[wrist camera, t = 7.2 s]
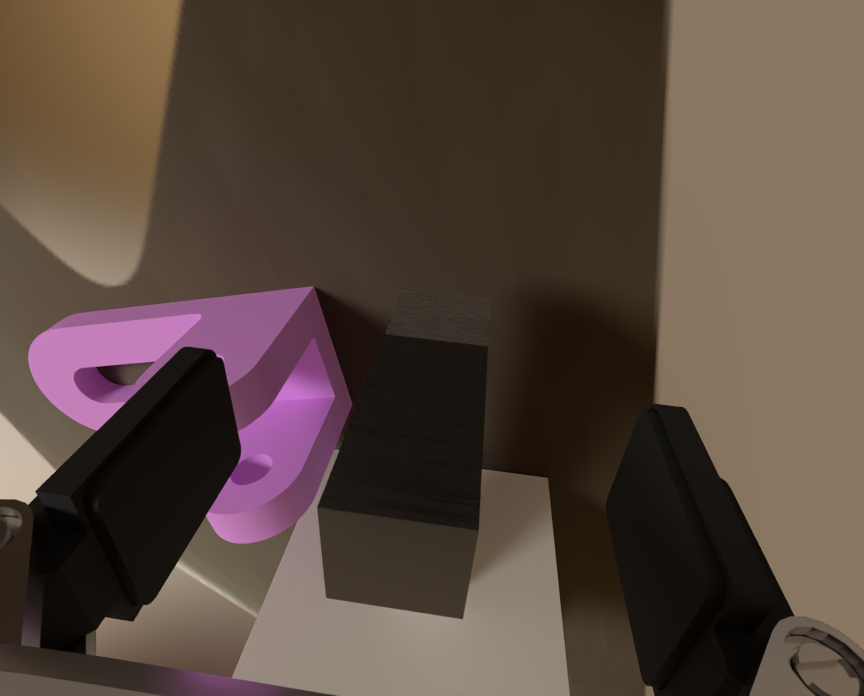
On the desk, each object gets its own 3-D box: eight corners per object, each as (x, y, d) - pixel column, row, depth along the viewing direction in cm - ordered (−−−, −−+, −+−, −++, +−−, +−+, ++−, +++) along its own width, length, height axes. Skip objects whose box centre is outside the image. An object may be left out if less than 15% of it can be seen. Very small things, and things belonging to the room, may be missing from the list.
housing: (328, 448, 23) (225, 693, 14) (547, 477, 22) (575, 753, 14) (333, 518, 25) (249, 758, 17) (528, 547, 25) (541, 811, 16)
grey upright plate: (402, 289, 13) (317, 507, 7) (490, 298, 13) (479, 529, 7) (393, 566, 20) (346, 798, 14) (450, 575, 20) (428, 813, 14)
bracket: (314, 284, 18) (226, 403, 12) (353, 402, 21) (296, 543, 15) (28, 317, 21) (-156, 429, 15) (97, 418, 24) (-35, 544, 18)
